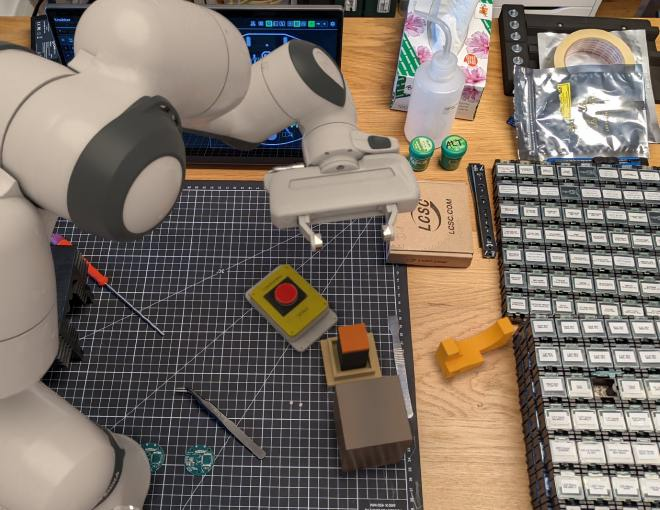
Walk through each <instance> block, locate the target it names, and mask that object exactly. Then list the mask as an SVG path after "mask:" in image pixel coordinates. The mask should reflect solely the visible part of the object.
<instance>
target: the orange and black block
mask: <svg viewBox="0 0 660 510" xmlns="http://www.w3.org/2000/svg"><path fill="white" fill-rule="evenodd" d="M367 332H368V331H367V328H366V323H365V322H363V323H355V324H348V325H342V326H338V327H337V337H338V338H337V351H338V357H339V362H340V368H341V371H347V370H353V369H360V368H366V365H367V360H368V355H369V350H370V346H369V341H368V337H367Z"/></svg>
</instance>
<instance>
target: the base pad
mask: <svg viewBox="0 0 660 510" xmlns="http://www.w3.org/2000/svg"><path fill="white" fill-rule="evenodd" d="M366 332H367V337H368V341H369V346H370V350H369V355H368V360H367V365H366V368H360V369H353V370H347V371H341V368H340V362H339V357H338V351H337V338H338V336H332V337H327V338H326V339H320V342H319V343H320V349H321V356H322V361H323V366H324V372H325V379H326V386H327V388H335V384H340V383H347V382H353V381H360V380H367V379H373V378H380V377H383V375H382V370H381V365H380V361H379V357H378V351H377V347H376V342H375V338H374V333H373V332H368V331H366Z"/></svg>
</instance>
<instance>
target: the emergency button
mask: <svg viewBox="0 0 660 510" xmlns="http://www.w3.org/2000/svg"><path fill="white" fill-rule="evenodd" d="M244 294H245V299H246V301H247V302H248V303H249V304H250V305H251V306H252V307H253V308H254V309H255V310H256V311H257V312H258V313H259V314H260V316H261V317H263V318H264V319H265V320H266V321H267V322H268V323H269V324H270V325H271V326H272V327H273V328H274V329H275V330H276V332H277V333H278V334H279V335H280V336H281V337H282V338H283V339H284V340H285V341H286V342H287V343H288V344H289V345H290V346H291V347H292V348H293V349H294V350H295V351H296V352H298V353H304V352H306V350H308V349H309V348H310V347H311V346H313V344H315V343H316V342H317V341H318V340H319V339H320V338H322V336H324V335H325V334H326V333H327V332H328V331H329V330H331V328H332V327H334V326H335V325H337V323H338V315H337V314H336V312H335V311H334V310H332V309H331V308H330V304H329V302H328V300H327V299H326V298H324V296H322V295H321V294H320V293H319V292H318V291H317V290H316V289H315V288H314V287H313V286H312V285H311V284H310V283H309V282H308V281H307V280H306V279H305V278H304V277H302V275H301V274H299V273H298V272H297V271H296V270H295V269H294V268H293V267H292V266H291V265H290V264H288V263H284V264H279V265H278V266H276V267H275V268H274V269H272V271H270V272H268V274H266V275H265V276H263V278H261V279H260V280H258V282H257V283H255V284H254V285H253V286H252V287H250V288H249V289H248V290H246V292H245V293H244Z"/></svg>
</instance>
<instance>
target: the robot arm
mask: <svg viewBox="0 0 660 510" xmlns="http://www.w3.org/2000/svg"><path fill="white" fill-rule="evenodd" d="M74 32H75V33H74V38H73V54H74V57H73V58H72V59H71V60H70V61H69V62H67V66H66V65H63V64H61V63H59V62H56V61H53V60H51V59H48V58H46V57H43V56H41V55H40V54H38V53H37V52H36V51H35V50H34V49H31V48H29V47H28V46H24V45H21V44H18V43H14V42H10V41H6V40H0V510H143V508H144V503H145V501H146V498H147V496H148V493H149V490H150V486H151V479H152V476H151V475H152V473H151V464H150V460H149V458H148V456H147V453H146V451H145V450H144V448H143V447H142V446H141V444H139V443H138V441H136V440H134V438H132V437H129V436H127V435H125V434H122V433H116V432H113V431H112V430H110V429H109V428H108V427H105V426H103V425H102V424H100V423H99V422H97V421H94V420H91V419H90V418H89V417H88V416H87V415H86V414H84V413H83V412H82V411H80V410H79V409H78V408H76V407H75V406H74V405H73V404H71V403H70V402H68V401H67V400H66V399H65V398H63V397H62V396H60V395H59V394H58V393H57V392H55V391H54V390H53V389H51V388H50V387H49V386H47V385H46V384H45V383H44V382H43V381H42V380H41V379H42V378H43V377H44V376H45V375H46V374H47V372H48V371H49V369H50V368H51V366H52V365H53V363H54V361H55V359H56V357H57V355H58V351H59V345H60V338H59V320H58V319H59V318H58V316H59V315H58V295H57V293H58V292H57V281H56V279H57V278H56V271H55V264H54V263H55V262H54V259H53V253H52V249H51V241H52V236H53V232H54V229H55V227H56V224H57V221H58V219H59V217H60V218H62V219H64V220H67V221H68V222H71V223H72V224H73V225H74V226H75V228H77V229H78V230H79V231H81V232H84V233H85V234H89V235H91V236H94V237H96V238H99V239H102V240H106V241H111V242H114V243H123V244H125V243H132V242H135V241H137V240H139V239H141V238H143V237H145V236H148V235H149V234H151V233H152V232H154V231H155V230H156V229H158V228H159V227H160V226H161V225H163V223H164V222H165V221H166V220H167V219H168V218H169V216H170V215H171V213H172V212H173V210H174V209H175V207H177V204H178V202H179V201H180V198H181V195H182V193H183V190H184V187H185V182H186V175H187V156H186V155H187V154H186V147H185V142H184V140H183V133H187V134H190V135H191V134H192V135H195V136H199V137H200V136H201V137H204V138H205V137H206V138H209V139H210V138H211V139H216V140H219V141H221V142H222V143H223V144H226V145H227V146H229V147H231V148H233V149H236V150H239V151H244V152H251V151H253V150H255V149H256V148H258V147H260V145H262V144H264V143H265V142H266V141H268V140H269V139H270V138H272V137H274V136H275V135H277V134H279V133H280V132H282V131H284V130H286V129H288V128H289V127H291V126H293V125H294V124H296V123H297V127H298V130H299V132H300V133H301V135H302V138H301V150H302V151H301V152H302V157H303V162H300V163H293V164H288V165H276V166H273V167H272V169H270V170H268V171H267V172H265V174H264V176H263V178H262V179H263V188H264V191H265V192H266V193H267V194H268V195H269V212H270V221H271V224H272V225H273V226H274V227H275V228H277V229H279V230H283V229H291V228H298V229H299V233H300V234H301V235H302V236H303V237H304V238H305V239H306V240H307V242H309V244H310V250H311V253H315V252H321V251H323V250H324V244H323V240H322V239H323V238H322V233H319V232H318V233H315V232H314V231H313V230H312V229H311V226H312V225H313V226H314V225H321V224H327V223H335V222H336V223H337V222H343V221H351V220H358V219H360V220H361V219H367V218H375V217H383V216H384V217H385V221H387V223H386V224H382V225H380V226H381V227H380V237H381V240H382V242H383V243H388V242H394V241H395V238H396V234H395V233H396V232H395V228H394V227H395V225H396V221H397V218H398V217H397V216H398V214H404V213H412V212H414V211H415V210H416V209H417V207H418V205H419V203H420V199H421V188H420V184H419V182H418V179H417V177H416V174H415V171H414V170H413V167H412V165H411V163H410V162H409V160H408V159H407V157H406V156H404V155H402V154H400V142H399V140H398V139H397V138H396V137H394V136H389V135H388V136H387V135H380V134H374V133H369V132H364V131H362V130H361V128H360V127H359V125H358V112H357V108H356V107H357V106H356V103H355V100H354V97H353V94H352V91H351V88H350V86H349V83H348V82H347V79H346V77H345V75H344V74H343V72H342V70H341V68H340V67H339V65H338V64H337V62H336V60H335V59H334V58H333V57H332V55H330V53H328V52H327V50H325V49H324V48H323V47H322V46H320V45H318V44H315V43H313V42H310V41H307V40H304V39H299V38H298V39H297V38H292V39H291V40H289V41H287V42H285V43H283V44H282V45H280V46H279V47H277V48H275V49H274V50H272V51H271V52H269V53H268V54H266V55H265V56H263V57H262V58H260V59H259V60H257V61H255V62H254V63H252V62H251V61H252V60H251V55H250V52H249V48H248V44H247V43H246V40H245V38H244V36H243V35H242V33H241V32H240V30H239V29H238V28H237V27H236V26H235V24H233V22H231V21H230V20H229V19H228V18H227V17H226V16H224V15H222V14H221V13H220V12H218V11H216V10H214V9H211V8H208V7H206V6H203V5H201V4H197V3H195V2H194V3H193V2H192V1H188V0H95V1H93V2H92V3H91V4H90V5H89V6H88V7H87V8H86V9H85V10H84V12H83V13H82V15H81V16H80V18H79V21H78V23H77V25H76V28H75V31H74Z"/></svg>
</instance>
